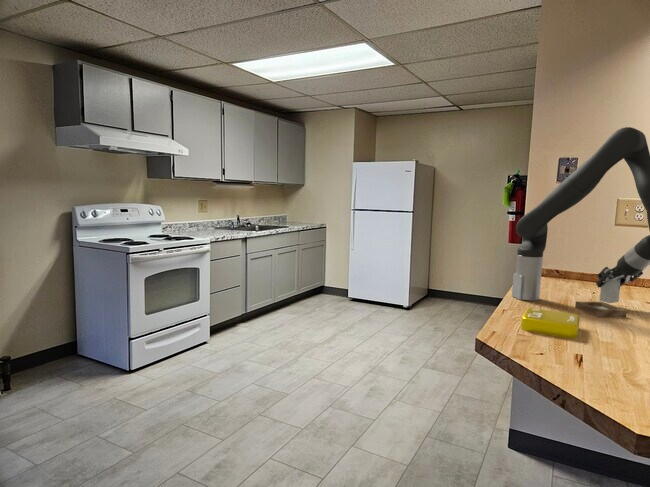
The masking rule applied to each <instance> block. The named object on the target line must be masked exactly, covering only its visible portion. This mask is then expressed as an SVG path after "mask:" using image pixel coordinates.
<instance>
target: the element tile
mask: <svg viewBox="0 0 650 487" xmlns="http://www.w3.org/2000/svg"><path fill="white" fill-rule="evenodd" d="M580 320H581V318H580V315H578V314H575V313H569V312H561V311H552V310H547V309H541V308H532V307H530V308H529V307H528V308H527V309H526V310H525V311H524V313H523V315H522V316H521V323H520V324H521V325H520V326H521V328H520V329H521V331H524V330H525V331H526V332H529V331H530V333H534V332H535V333H536V334H540V335H546V336H553V337H557V336H558V337H559V338H564V339H569V338H570V339H571V340H577V339H578V335H579V331H580V330H579V328H580ZM525 331H524V332H525ZM558 337H557V338H558Z"/></svg>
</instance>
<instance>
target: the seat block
mask: <svg viewBox="0 0 650 487" xmlns="http://www.w3.org/2000/svg"><path fill="white" fill-rule="evenodd" d="M574 304H575V306H574V308H575V309H576V310H579V311H580V312H583V313H586V314H589V315H592V316H594V317H597V318H601V319H602V318H603V319H604V318H607V319H608V318H613V319H614V318H627V311H628V310H627V309H624V308H620V307H618V306H616V305H612V304H611V303H607V302H602V301H575V303H574Z"/></svg>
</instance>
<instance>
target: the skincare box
mask: <svg viewBox="0 0 650 487" xmlns="http://www.w3.org/2000/svg"><path fill="white" fill-rule="evenodd" d="M610 275H611V276H612V278H613V275H612V273H611V274H610ZM608 278H609V277H607V278H606V279H608ZM620 281H621V278H617V279H615V280H613V281H611V280H610V281H608V282H606V283H605V284H604V285H603V286H602V287H600V293H599V302H604V303H607V304H612V303H613V304H615V303H618V302H619V301H620V290H621V289H620V288H621V287H620Z"/></svg>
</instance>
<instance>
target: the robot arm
mask: <svg viewBox="0 0 650 487" xmlns="http://www.w3.org/2000/svg"><path fill="white" fill-rule="evenodd" d="M622 160H624V162H625V163H626V164H627V165H628V167H629V170H630V171H631V173H632V176H633V179H634V183H635V188H636V192H637V194H638V196H639V199H640V201H641V203H642V205H643V207H644V210H645V211H646V219H647V225H648V230H649V231H650V150H649V146H648V142H647V137H646V135H645V134H644V133H643V131H641V130H639V129H637V128H634V127H631V126H629V127H628V126H626V127H622V128H619V129H617V130H616V131H614V132H613V133H612V134H611V135H610V136H609V137H608V138H607V139H606V141H604V143H603V144H602V145H601V146H600V147H599V148H598V150H596V152H595V153H594V154H592V155H591V156H590V157H589V158H588V159H587V160H586V161H584V163H582V164H580V166H578V167H577V169H575V170H574V171H573V172H572V173H571V174H570V175H568V176H567V177H566V178H564V179H563V181H562V182H561V183H560V184H558V186H557V187H556V188H554V190H552V191H551V192H550V193H549V194H548V195H547V196H546V197H545V198H544V199H543V200H542V201H541V202H540V203H539V204H537V205H536V206H535V207H534V208H533V209H532V210H529V212H527V213H526V214H524V215H522V217H521V218H519V219H518V221H517V223H516V225H515V231H516V234H517V235H518V236H519V238H521V239H522V240H521V242H520V243H521V244H520V246H519V247H517V255H516V265H515V266H516V267H515V272H514V273H513V275H512V276H513V277H512V289H511V291H512V292H511V296H512V297H513V298H514V299H517V300H519V301H531V302H533V301H539V300H540V298H541V297H540V295H541V285H542V282H541V281H542V274H543V273H542V271H543V261H544V260H543V259H544V253H545V249H546V247H547V240H548V239H547V238H548V232H549V231H548V229H549V228H548V224H549V223H550V222H551V221H552V220H553V219H555V218H556V217H557V216H558V215H560V214H563V213H564V212H566V211H567V210H569V209H571V208H572V207H574V206H576V205H577V204H578V203H580V202H581V201H583V199H585V198H586V197H587V196H588V195H589V194H590V193H592V191H594V189H595V188H596V187H598V186H597V185H599V183H600V181H602V179H603V177H604V176H605V175H606V174H607V172H609V171H610V170H611V169H612V168H613V167H614V166H615V165H617V164H618V163H619V162H620V161H622ZM648 266H650V234H649V235H646V236H645V237H643V238H642V239H641V240H639V242H638V243H636V244H635V245H634V246H633V247H631V248H629V250H627V251H626V252H625V253H624V254H623V255H622V256H621V257H620V258H619V259H618V260H617V262H616V266H614V267H612V268H609V267H608V266H605V267H604V268H603V269H602V270H601V271H599V273H598V274H597V275H596V277H597V278H598V280H597V281H596V282H595V285H596V286H597V288H601V287H602V286H603V285H604V284H605V283H606V282H608V281H610V280H611V281H613V280H615V279H617V278H621V281H620V288H622V286H623V285H625V284H627V283H629V282H630V283H633V282H634V281H636V280H638V279H639V278H640V277H642V276H643V274H644V272H643V271H644V270H645V269H646V268H647V267H648ZM611 273H612V275H613V278H612V276H611V275H610V274H611ZM607 277H609V278H608V279H606V278H607Z"/></svg>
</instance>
